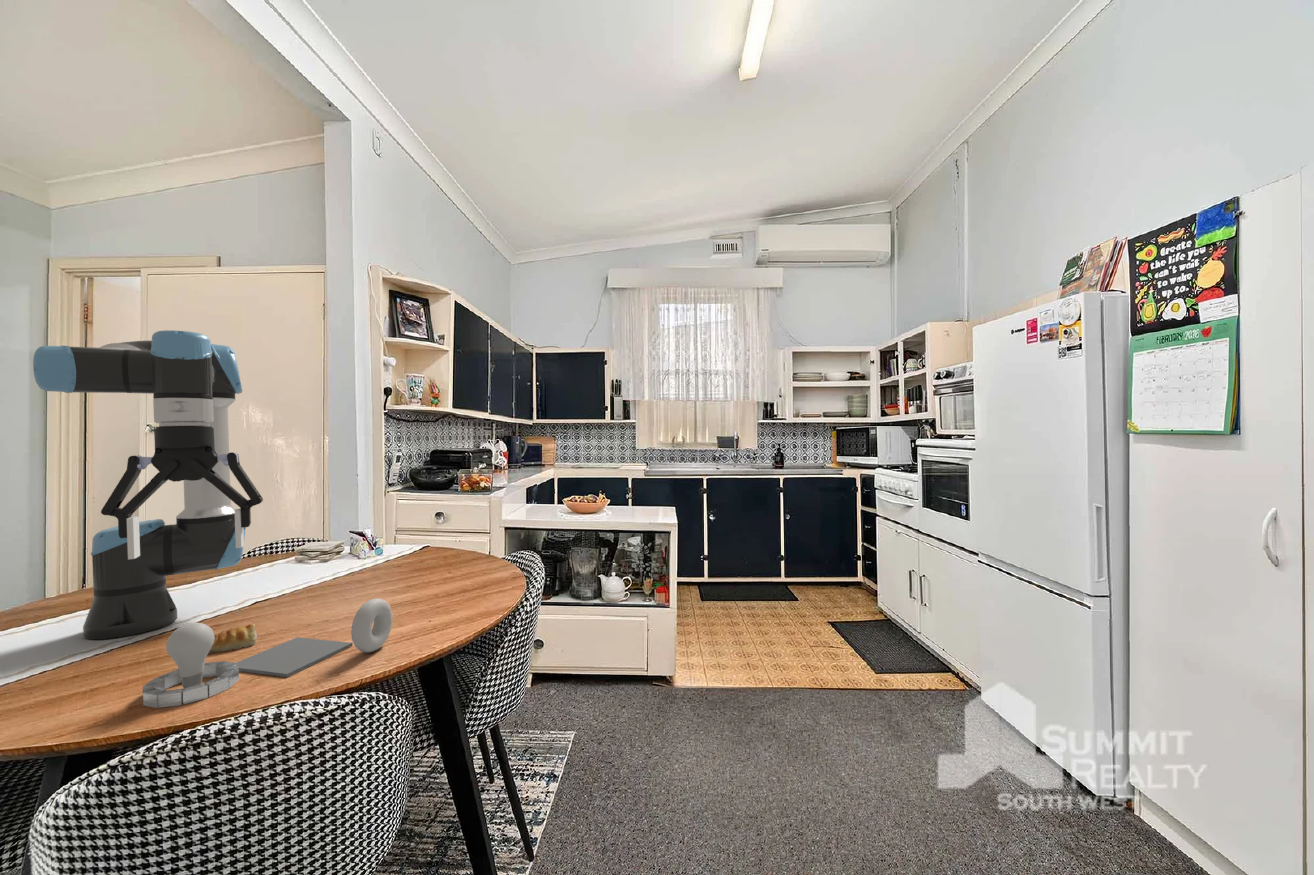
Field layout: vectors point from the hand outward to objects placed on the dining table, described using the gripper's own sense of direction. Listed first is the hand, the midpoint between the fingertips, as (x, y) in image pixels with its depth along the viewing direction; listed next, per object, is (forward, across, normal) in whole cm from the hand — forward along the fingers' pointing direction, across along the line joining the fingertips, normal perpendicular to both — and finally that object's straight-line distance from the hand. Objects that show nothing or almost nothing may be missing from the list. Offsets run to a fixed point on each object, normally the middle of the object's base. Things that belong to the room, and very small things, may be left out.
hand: (189, 552), depth 90 cm
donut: (+23, +27, +1) cm, 35 cm away
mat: (+23, +13, +6) cm, 27 cm away
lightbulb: (+23, 0, 0) cm, 23 cm away
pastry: (+23, +2, +20) cm, 31 cm away
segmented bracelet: (+23, 0, 0) cm, 23 cm away
